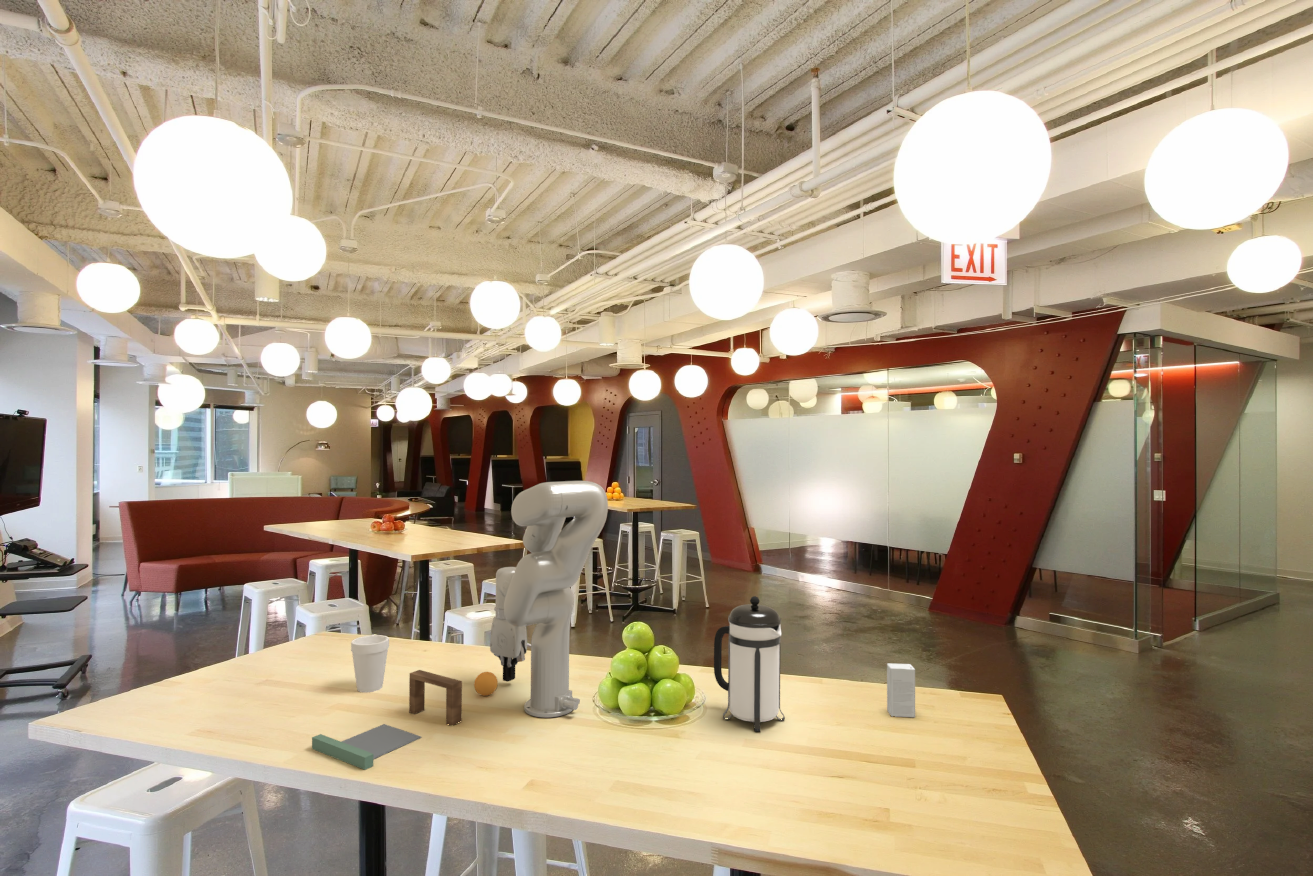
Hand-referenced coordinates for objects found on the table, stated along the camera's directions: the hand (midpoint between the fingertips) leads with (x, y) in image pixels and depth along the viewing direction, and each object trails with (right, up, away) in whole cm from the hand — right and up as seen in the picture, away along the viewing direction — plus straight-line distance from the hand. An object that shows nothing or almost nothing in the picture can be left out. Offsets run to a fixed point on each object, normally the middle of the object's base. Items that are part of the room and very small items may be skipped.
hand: (509, 679), depth 190 cm
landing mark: (-22, -1, -36) cm, 42 cm away
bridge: (-13, -1, -22) cm, 26 cm away
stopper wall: (-26, -1, -43) cm, 51 cm away
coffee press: (+63, -2, -21) cm, 67 cm away
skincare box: (+101, -3, -17) cm, 103 cm away
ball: (-4, +1, -7) cm, 9 cm away
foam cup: (-37, -1, -3) cm, 37 cm away
